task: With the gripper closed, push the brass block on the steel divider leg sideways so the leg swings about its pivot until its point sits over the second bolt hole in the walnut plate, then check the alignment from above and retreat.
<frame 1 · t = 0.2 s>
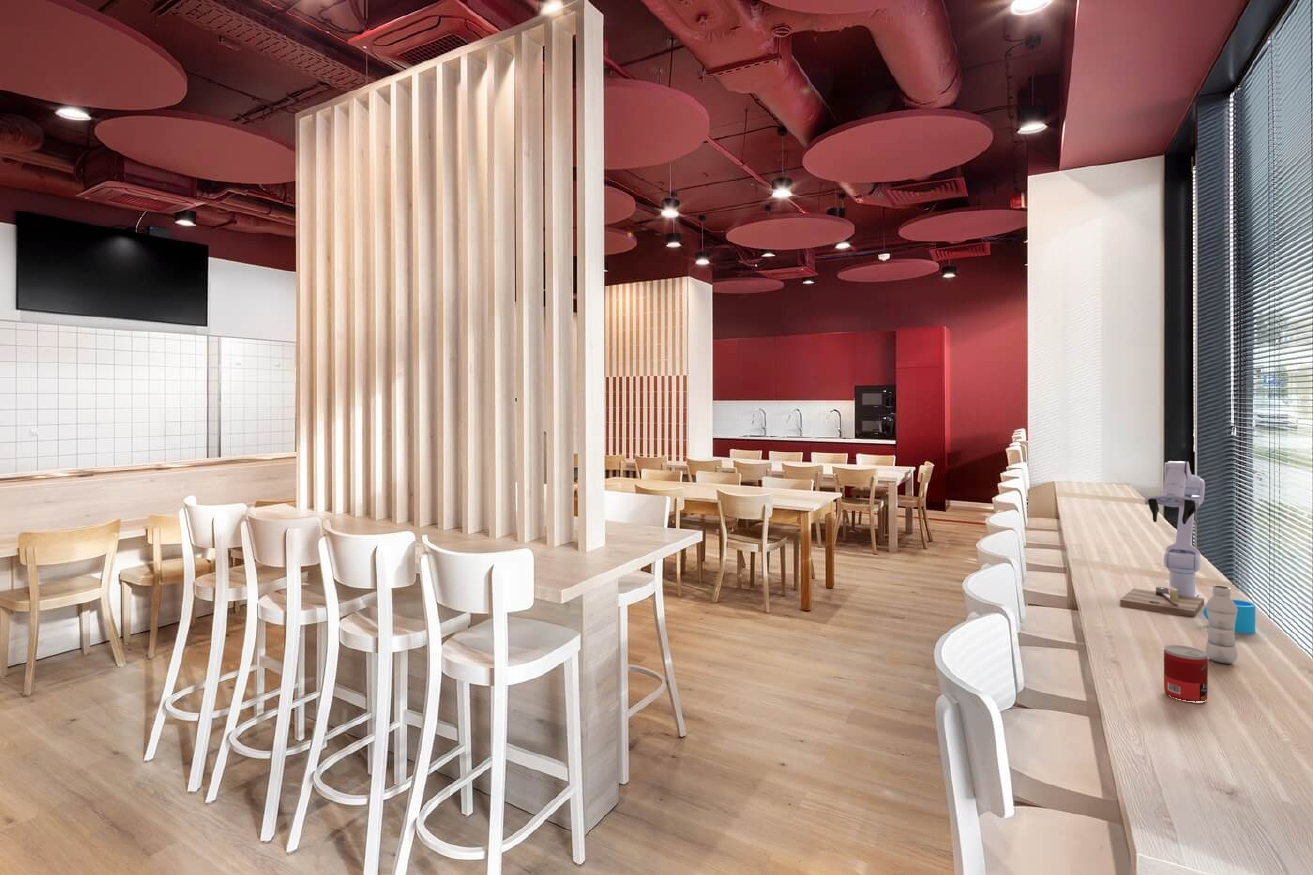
hand: (1169, 521, 215), 31 cm above the table, tool tilted 45°, fingers open, 7 cm apart
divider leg: (1168, 591, 225), point 5 cm above the table, hinge at 25.0°
mug: (1228, 628, 201), on the table
plastic bottle: (1221, 662, 175), on the table
hole plate: (1162, 604, 226), on the table
canned food: (1185, 697, 154), on the table
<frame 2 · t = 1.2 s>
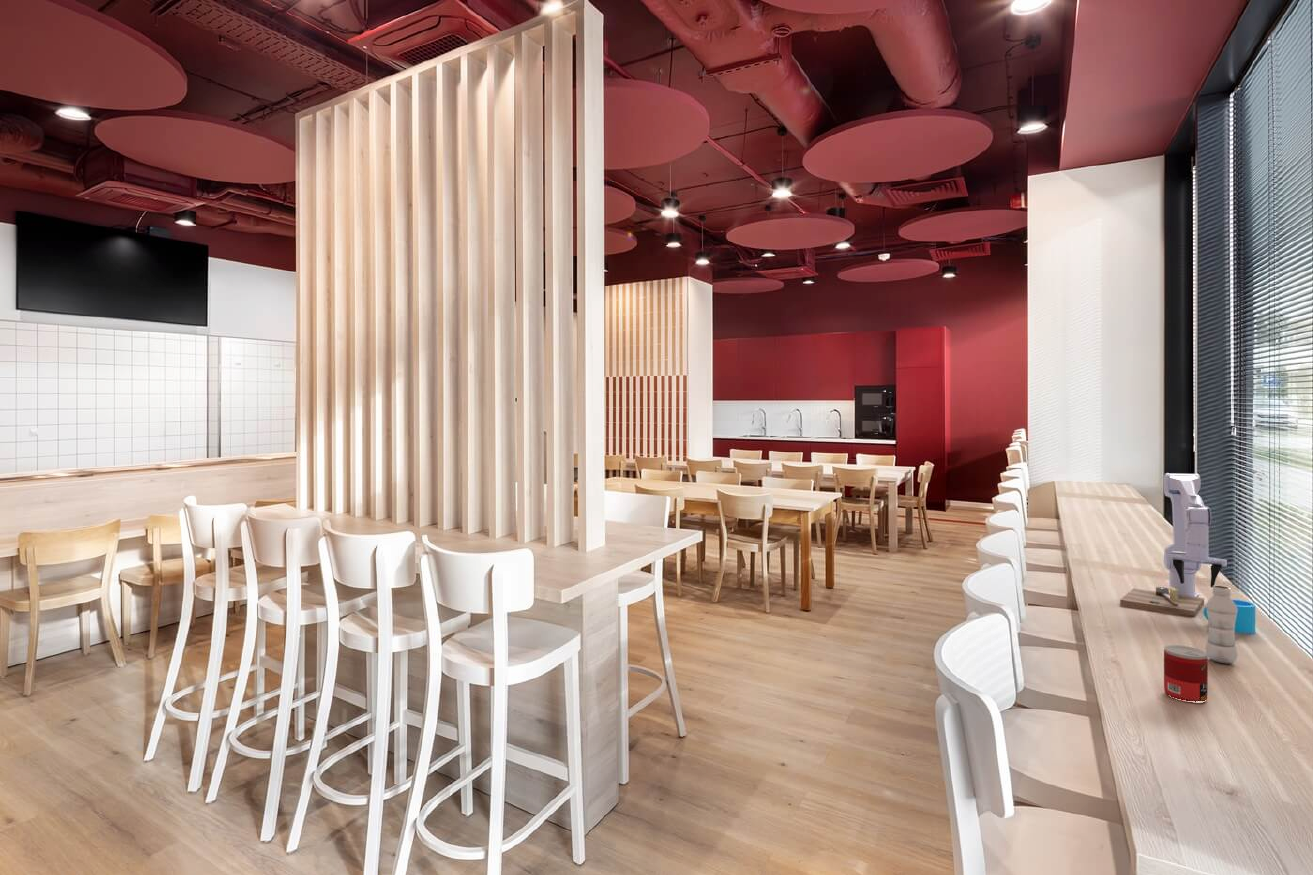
hand: (1197, 584, 215), 9 cm above the table, tool pointing down, fingers open, 7 cm apart
nothing on the table moved.
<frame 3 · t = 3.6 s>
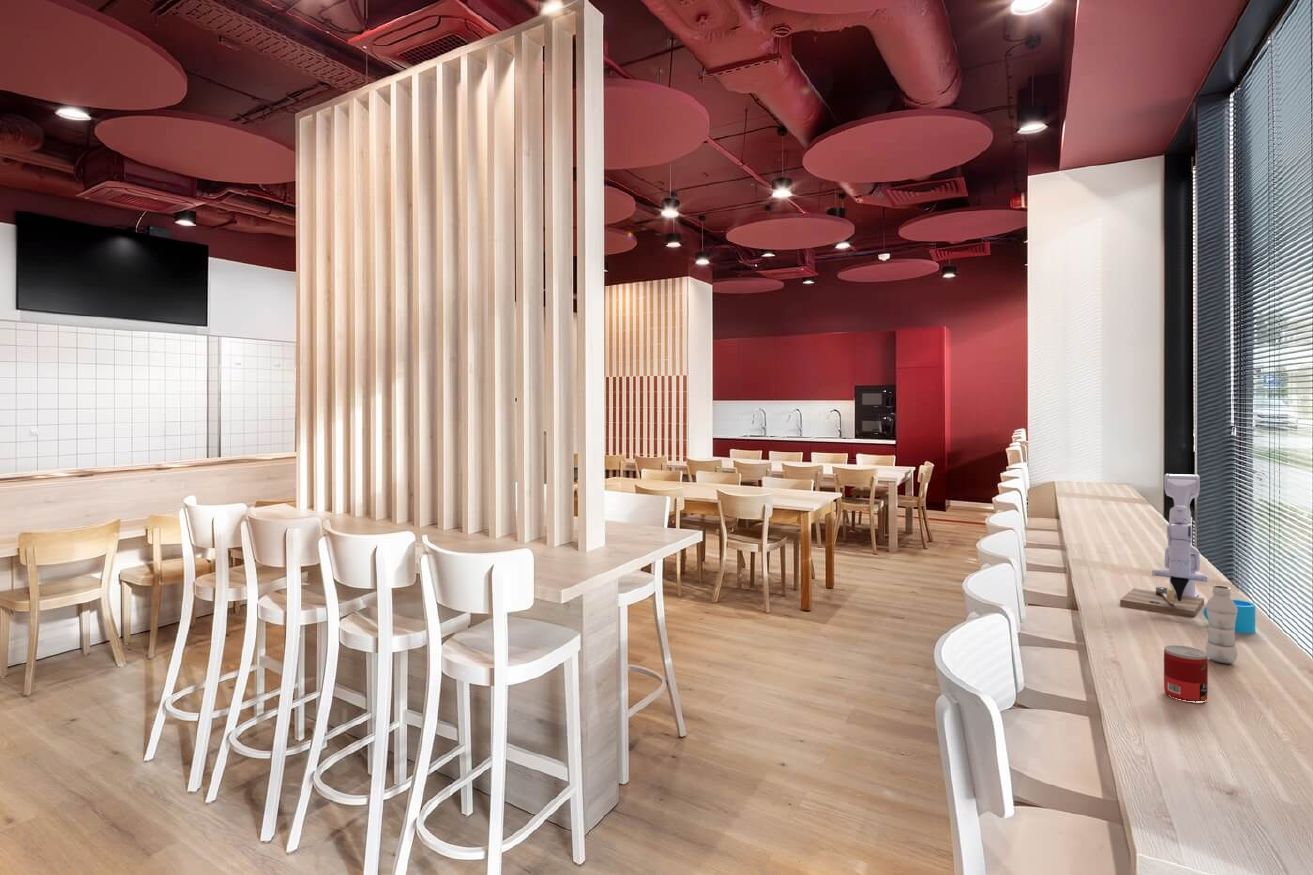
hand: (1179, 600, 218), 4 cm above the table, tool pointing down, fingers closed
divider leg: (1166, 591, 225), point 5 cm above the table, hinge at 20.1°, touching gripper
everything else where it was.
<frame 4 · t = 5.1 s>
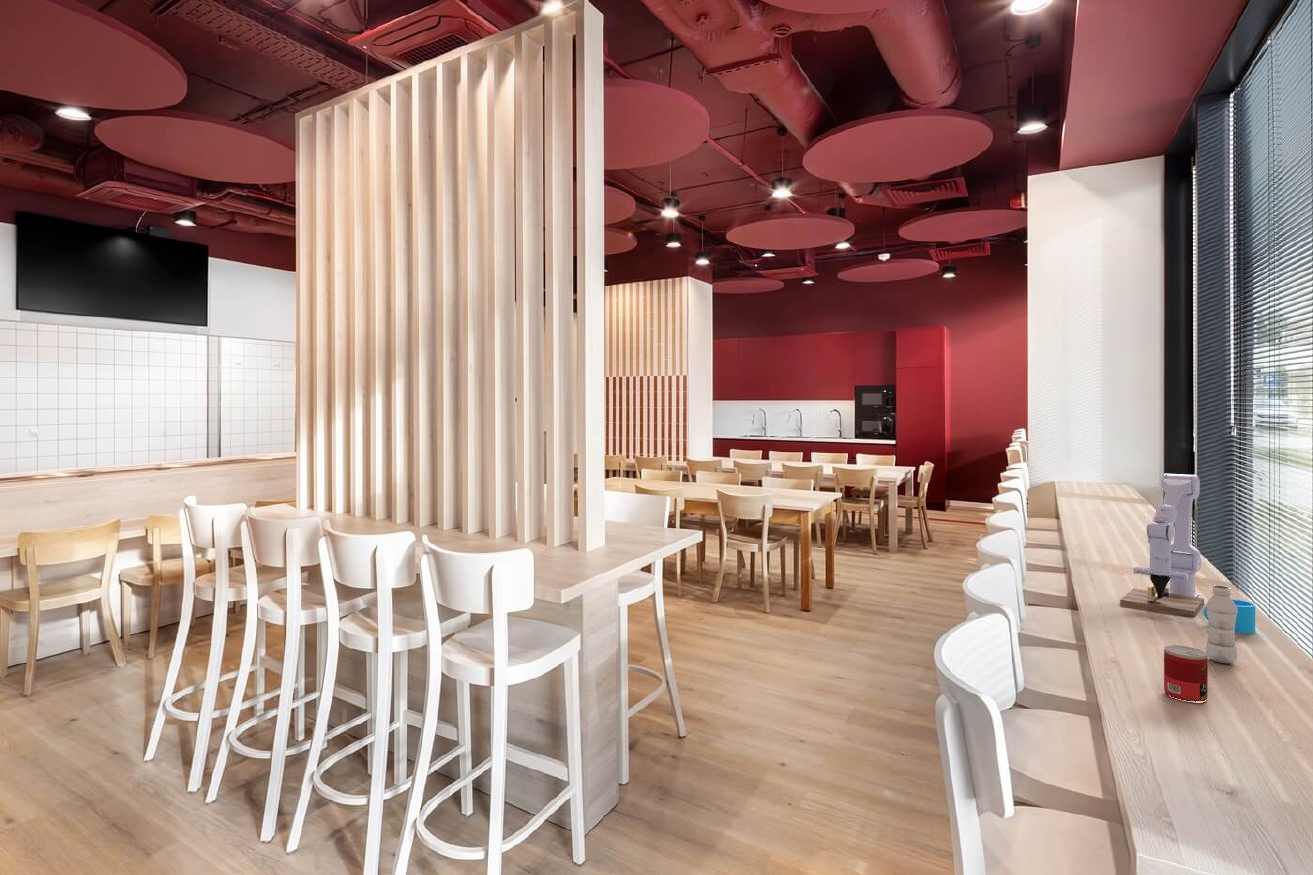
hand: (1160, 597, 222), 3 cm above the table, tool pointing down, fingers closed
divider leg: (1156, 590, 227), point 5 cm above the table, hinge at -5.3°, touching gripper
everything else where it was.
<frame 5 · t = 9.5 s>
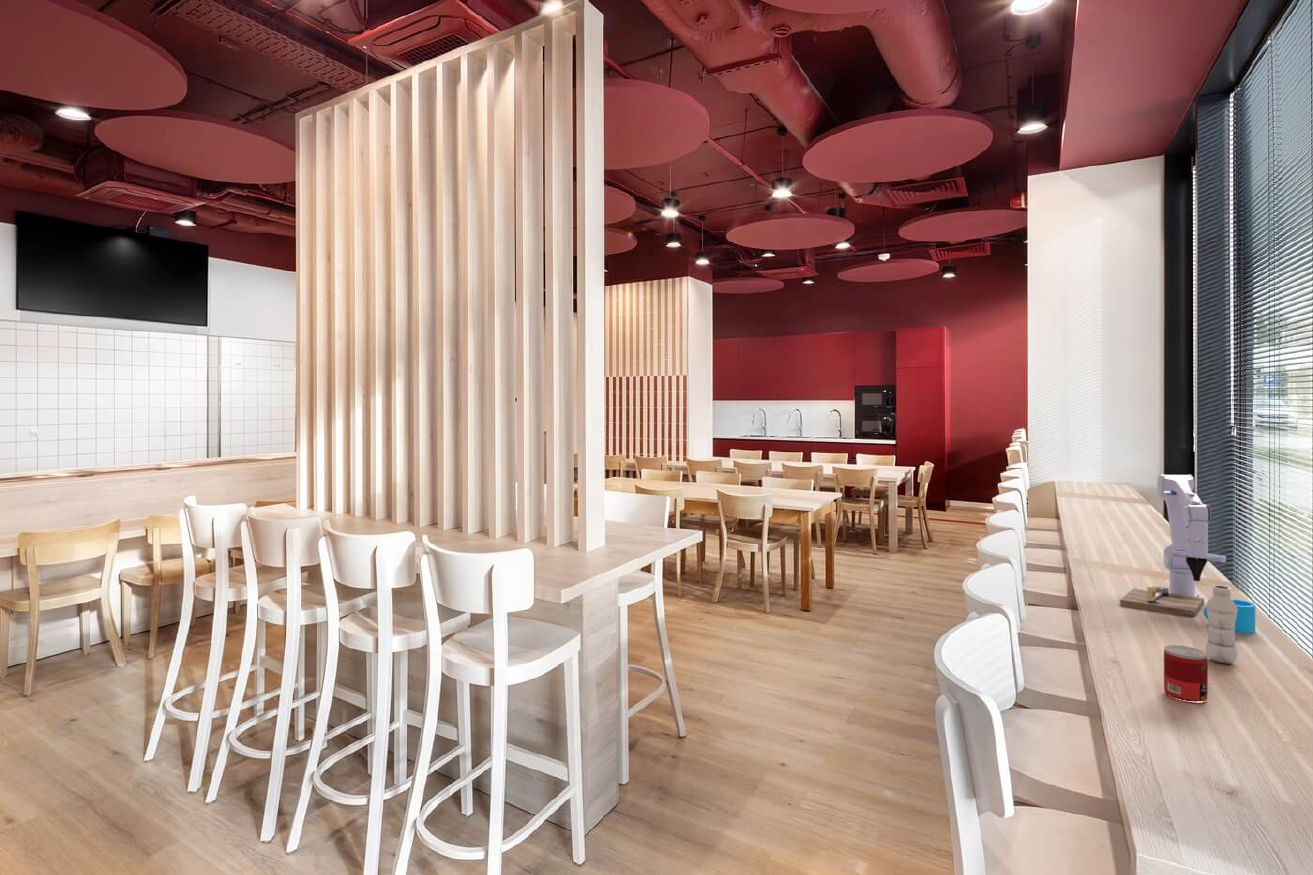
hand: (1196, 580, 221), 9 cm above the table, tool pointing down, fingers closed
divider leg: (1156, 590, 227), point 5 cm above the table, hinge at -5.3°
everything else where it was.
at the end: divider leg at -5° (first picture: +25°); mug moved 0.3 cm from its start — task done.
